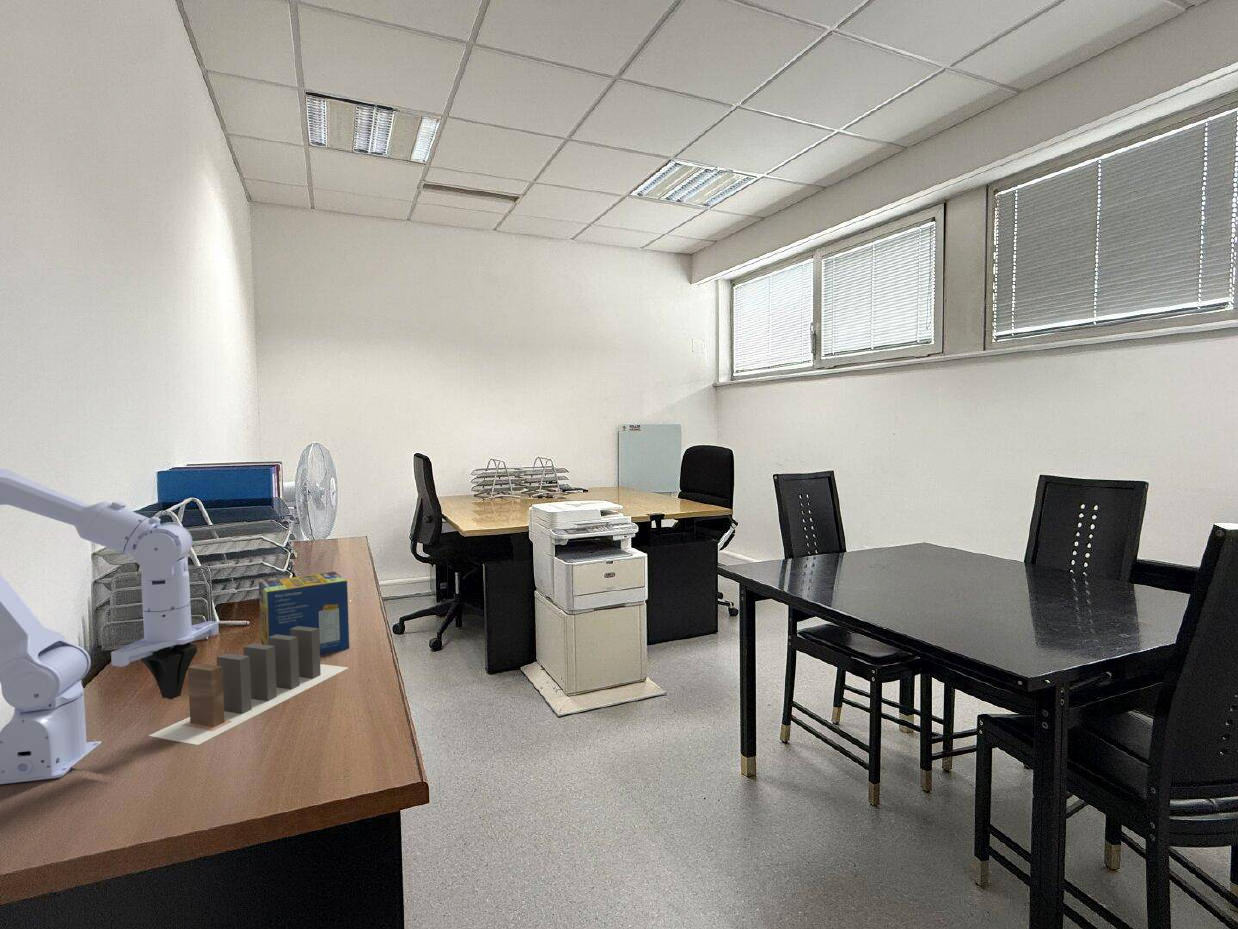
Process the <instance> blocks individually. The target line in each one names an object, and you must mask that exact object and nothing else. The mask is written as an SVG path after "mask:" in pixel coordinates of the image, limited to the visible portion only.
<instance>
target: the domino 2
mask: <svg viewBox="0 0 1238 929" xmlns="http://www.w3.org/2000/svg"><path fill="white" fill-rule="evenodd" d="M216 666H222V676H223V697H224V711H226V712H232V713H238V714H244V713H246V712H248V711H250V710H252V701H251V678H250V656H245V655H244V654H237V653H236V654H234V653H229V652H228V653H227V652H226V653H224V654H220V655H218V656H216Z"/></svg>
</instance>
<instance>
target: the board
mask: <svg viewBox="0 0 1238 929" xmlns="http://www.w3.org/2000/svg"><path fill="white" fill-rule="evenodd" d="M347 669H349V667H348V666H340V665H332V664H331V665H330V664H323V663H322V664H321V663H320V672H321V675H320V676H318V677H316V678H314V679H311V678H303V677H299V681H300V686H298V687H296V688H294V689H292V690H291V689H284V688H277V687H276V689H277V697H276V698H274V699H272V700H270V701H263V700H256V699H251V701H252V710H250V711H248V712H246V713H244V714H238V713H232V712H226V711H224V719H225V722H224V723H222V724H220V725H218V726H216V727H209V726H203V725H198V724H192V723H190V716H189V717H188V716H187V717H186V718H184V719H182V720H179V721H177V722H175V723H173V724H171V725H168V726H167V727H164V728H161V729H160V730H157V731H155V732H154V733H151V734H149V735H148V737H153V738H157V739H163V740H168V741H174V742H180V743H184V744H188V745H189V744H190V745H195V746H200V745H201V744H203V743H205V742H207V741H208V740H211V739H213V738H215V737H218V735H220V734H222V733H225V732H227V731H229V730H231V729H233V728H234V727H237V726H238V725H240V724H242V723H244V722H246V721H248V720H250V719H252V718H254V717H256V716H258V715H259V714H262V713H263V712H265V711H267V710H269V709H272V708H273V707H276V706H277V705H280V704H281V703H283V702H285V701H287V700H290V699H291V698H293V697H295V696H297V695H299V694H301V693H302V692H305V691H306V690H309V689H310V688H312V687H315V686H316V685H319V684H321V683H322V682H324V681H326V680H329V679H330V678H333V677H335V675H338V674H340V673H341V672H344V671H346V670H347Z"/></svg>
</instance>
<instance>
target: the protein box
mask: <svg viewBox="0 0 1238 929" xmlns="http://www.w3.org/2000/svg"><path fill="white" fill-rule="evenodd" d="M348 593H349V592H348V580H346V579H345V578H343V577H342V576H341V575H339V574H338V573H337V571H329V572H322V573H313V574H309V575H308V574H307V575H301V576H294V577H293V576H292V577H287V578H280V579H274V580H265V581H260V582H259V581H258V594H259V616H260V642H261V643H260V644H262V645H268V637H270V636H273V635H276V634H277V635H286V636H290V629H291V628H294V627H297V626H301V627H311V628H319V645H320V656H321V655H325V654H330V653H331V654H332V653H335V652H340V651H345V650H349V649H350V630H349V629H350V628H349V627H350V626H349V597H348V596H349V595H348Z"/></svg>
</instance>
